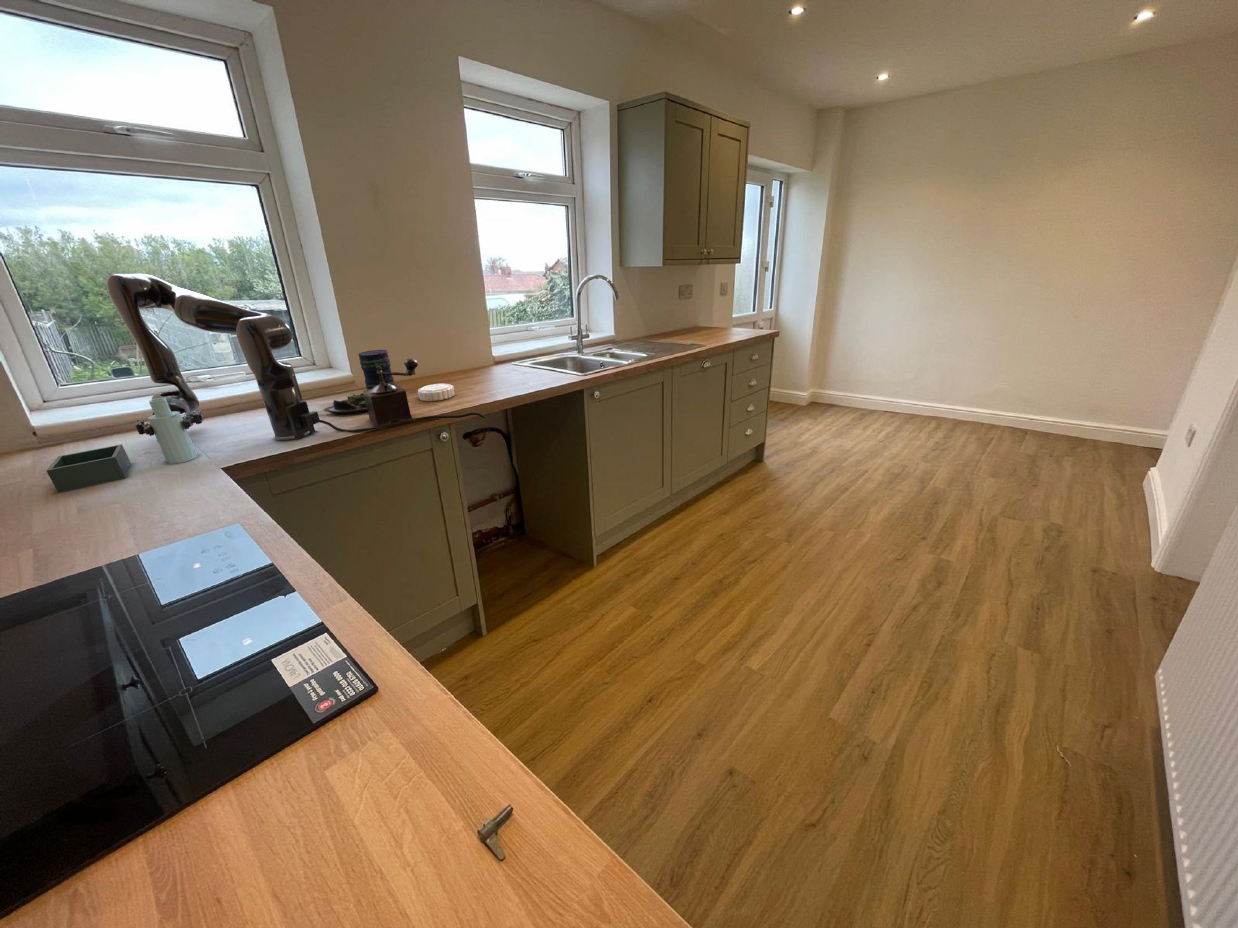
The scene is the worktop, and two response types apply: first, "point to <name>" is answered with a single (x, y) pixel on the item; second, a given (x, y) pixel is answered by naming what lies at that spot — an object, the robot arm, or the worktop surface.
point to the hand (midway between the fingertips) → (168, 428)
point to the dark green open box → (89, 468)
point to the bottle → (171, 433)
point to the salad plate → (349, 406)
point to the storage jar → (375, 367)
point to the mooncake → (436, 392)
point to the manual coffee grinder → (389, 398)
